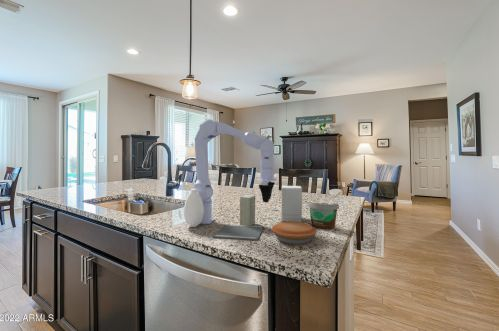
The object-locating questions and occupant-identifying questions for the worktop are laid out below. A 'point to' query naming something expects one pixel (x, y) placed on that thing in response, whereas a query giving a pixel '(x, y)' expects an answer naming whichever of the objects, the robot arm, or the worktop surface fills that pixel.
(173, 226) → the worktop surface
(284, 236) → the pie
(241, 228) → the mat
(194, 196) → the white ellipsoid
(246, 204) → the skincare box
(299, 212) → the supplement box
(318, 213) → the food container
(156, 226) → the worktop surface
